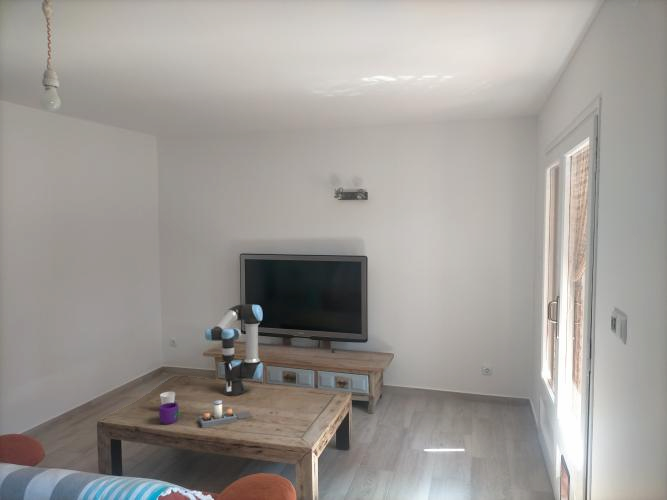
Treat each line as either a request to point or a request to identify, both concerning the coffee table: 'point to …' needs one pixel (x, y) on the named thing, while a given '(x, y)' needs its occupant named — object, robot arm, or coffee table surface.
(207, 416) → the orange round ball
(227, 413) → the orange oval ball
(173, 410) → the mug
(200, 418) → the tray
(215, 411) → the cylinder
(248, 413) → the mat
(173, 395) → the cup
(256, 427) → the coffee table surface
